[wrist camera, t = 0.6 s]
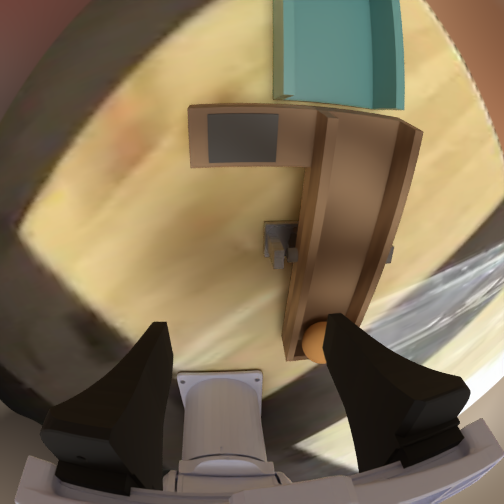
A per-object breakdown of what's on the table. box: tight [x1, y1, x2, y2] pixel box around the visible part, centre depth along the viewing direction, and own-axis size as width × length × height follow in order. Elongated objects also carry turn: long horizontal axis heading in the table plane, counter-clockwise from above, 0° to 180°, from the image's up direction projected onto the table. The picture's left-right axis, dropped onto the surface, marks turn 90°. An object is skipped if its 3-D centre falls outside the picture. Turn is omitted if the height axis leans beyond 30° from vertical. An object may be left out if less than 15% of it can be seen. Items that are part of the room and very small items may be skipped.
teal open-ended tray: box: [273, 0, 405, 110], centre depth 14 cm, size 10×8×4 cm
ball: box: [302, 322, 327, 364], centre depth 21 cm, size 3×3×3 cm
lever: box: [188, 103, 423, 361], centre depth 18 cm, size 18×12×3 cm, turn 179°
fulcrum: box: [264, 221, 394, 269], centre depth 20 cm, size 2×8×4 cm, turn 90°
